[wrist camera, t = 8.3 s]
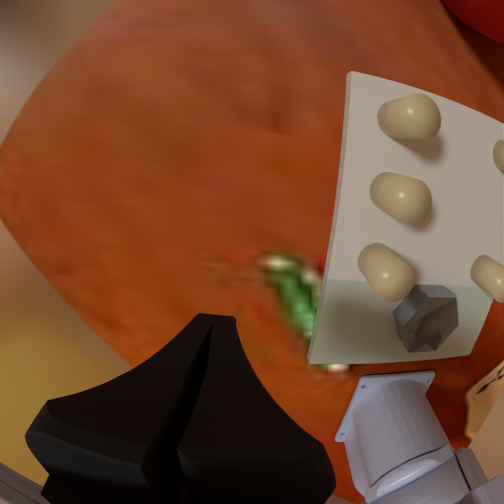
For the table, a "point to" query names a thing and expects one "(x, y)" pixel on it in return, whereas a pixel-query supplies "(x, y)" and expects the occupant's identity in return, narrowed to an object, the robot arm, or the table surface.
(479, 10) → the ceramic cup
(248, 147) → the table surface
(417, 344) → the grey faceted polyhedron
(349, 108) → the board
